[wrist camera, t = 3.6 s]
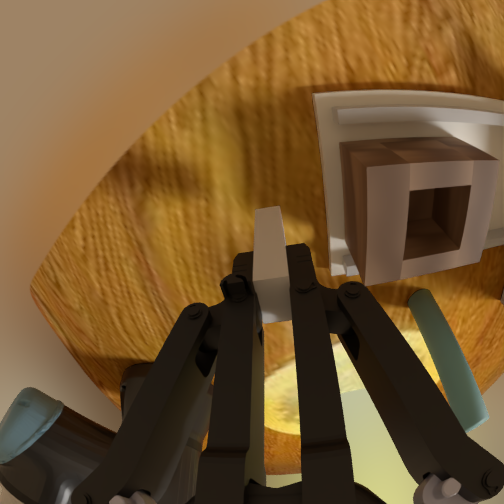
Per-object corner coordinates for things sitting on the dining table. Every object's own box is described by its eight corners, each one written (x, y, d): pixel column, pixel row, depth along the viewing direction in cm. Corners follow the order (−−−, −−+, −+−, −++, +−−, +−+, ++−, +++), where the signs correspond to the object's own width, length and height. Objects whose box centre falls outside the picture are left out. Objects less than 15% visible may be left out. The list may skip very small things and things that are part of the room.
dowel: (405, 311, 28) (453, 438, 15) (410, 291, 27) (467, 426, 14) (427, 305, 28) (479, 426, 15) (433, 286, 26) (494, 412, 13)
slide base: (329, 269, 25) (352, 350, 18) (311, 93, 17) (352, 106, 9) (518, 232, 22) (562, 280, 15) (536, 108, 14) (598, 138, 6)
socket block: (344, 241, 22) (364, 286, 18) (338, 142, 18) (366, 167, 13) (446, 225, 21) (479, 261, 16) (454, 136, 16) (499, 160, 12)
